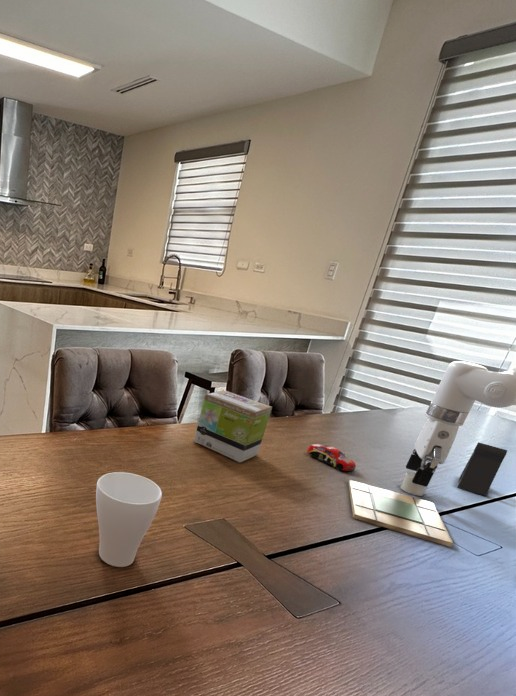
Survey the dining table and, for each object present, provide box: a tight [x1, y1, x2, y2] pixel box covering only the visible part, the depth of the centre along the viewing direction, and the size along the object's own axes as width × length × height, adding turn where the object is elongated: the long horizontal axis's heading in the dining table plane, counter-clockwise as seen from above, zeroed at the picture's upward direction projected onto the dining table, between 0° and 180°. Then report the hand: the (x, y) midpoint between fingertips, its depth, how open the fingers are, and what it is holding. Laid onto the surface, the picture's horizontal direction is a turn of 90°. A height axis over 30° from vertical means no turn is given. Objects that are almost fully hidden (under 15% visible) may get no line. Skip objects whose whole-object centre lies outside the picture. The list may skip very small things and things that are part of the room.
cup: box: [95, 471, 163, 568], centre depth 78 cm, size 10×10×14 cm
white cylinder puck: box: [400, 471, 428, 497], centre depth 119 cm, size 5×5×4 cm
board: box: [347, 479, 454, 548], centre depth 108 cm, size 18×20×1 cm
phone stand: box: [457, 442, 508, 497], centre depth 124 cm, size 9×6×12 cm, turn 138°
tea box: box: [193, 389, 273, 464], centre depth 128 cm, size 15×10×15 cm, turn 43°
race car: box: [306, 443, 357, 472], centre depth 131 cm, size 13×5×4 cm, turn 26°
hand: (415, 476), depth 119 cm, fingers open, 9 cm apart
